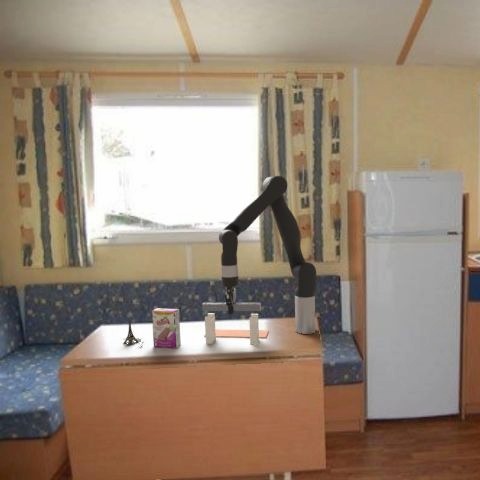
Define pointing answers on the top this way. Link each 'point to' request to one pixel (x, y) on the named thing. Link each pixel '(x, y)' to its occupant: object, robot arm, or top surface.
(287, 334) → the top surface
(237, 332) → the mat
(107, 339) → the top surface
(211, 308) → the rail
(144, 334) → the top surface
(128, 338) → the eiffel tower figurine
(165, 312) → the candy bar box
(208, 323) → the stands
